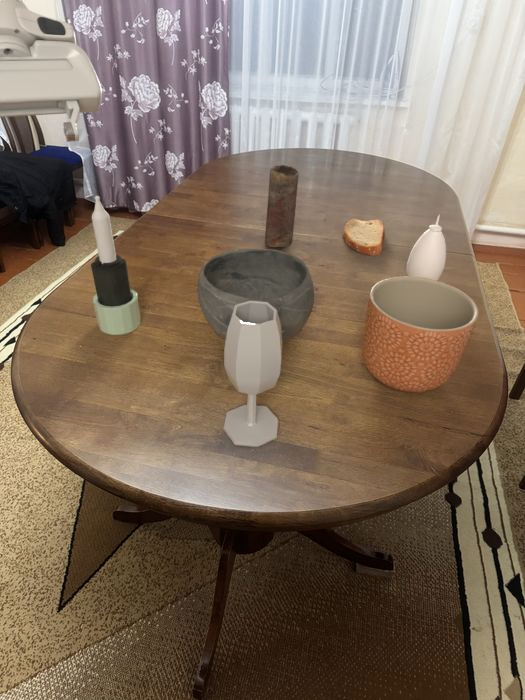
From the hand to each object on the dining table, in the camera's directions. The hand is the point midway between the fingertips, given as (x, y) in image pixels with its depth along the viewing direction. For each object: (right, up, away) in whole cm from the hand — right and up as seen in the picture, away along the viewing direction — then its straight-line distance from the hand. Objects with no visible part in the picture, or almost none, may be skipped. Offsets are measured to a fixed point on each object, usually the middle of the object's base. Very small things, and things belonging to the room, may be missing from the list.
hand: (34, 141), depth 59 cm
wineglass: (+27, -39, +13) cm, 49 cm away
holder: (0, -21, +34) cm, 40 cm away
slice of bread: (+59, +5, +73) cm, 94 cm away
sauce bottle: (+66, -12, +50) cm, 84 cm away
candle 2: (+33, +2, +67) cm, 75 cm away
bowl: (+27, -24, +32) cm, 49 cm away
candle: (0, -21, +34) cm, 40 cm away
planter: (+54, -31, +25) cm, 67 cm away
